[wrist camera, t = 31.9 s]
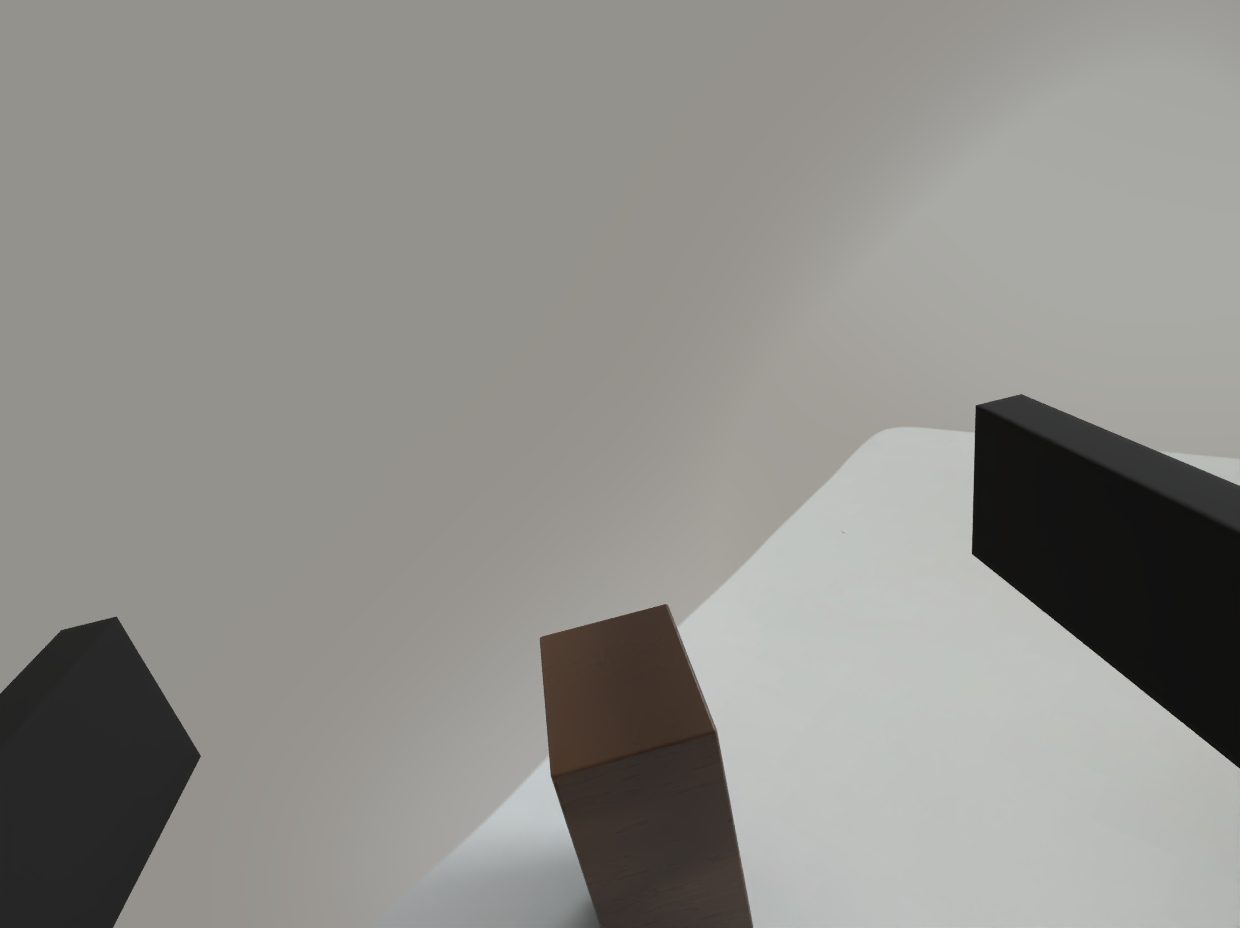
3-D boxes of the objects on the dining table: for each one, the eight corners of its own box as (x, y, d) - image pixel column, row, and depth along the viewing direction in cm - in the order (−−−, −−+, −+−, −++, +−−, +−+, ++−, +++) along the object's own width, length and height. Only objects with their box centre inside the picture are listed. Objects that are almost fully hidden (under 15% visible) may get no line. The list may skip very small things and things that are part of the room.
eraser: (635, 1036, 23) (550, 776, 18) (609, 869, 28) (539, 636, 23) (766, 997, 23) (717, 730, 18) (715, 839, 28) (667, 602, 24)
